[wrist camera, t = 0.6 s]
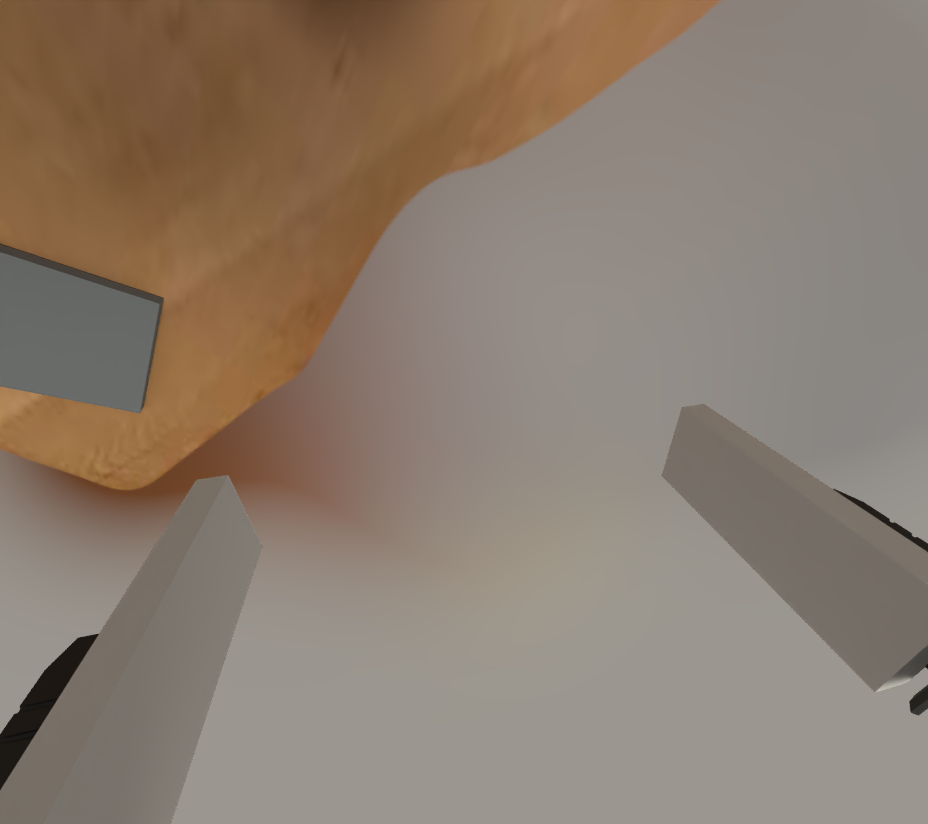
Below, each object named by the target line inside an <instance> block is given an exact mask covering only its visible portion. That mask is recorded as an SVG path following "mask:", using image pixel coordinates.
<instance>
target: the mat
mask: <svg viewBox="0 0 928 824" xmlns="http://www.w3.org/2000/svg"><path fill="white" fill-rule="evenodd" d="M162 304H163V298H161V297H158V296H155V295H152V294H149V293H146V292H143V291H140V290H137V289H134V288H131V287H128V286H125V285H122V284H119V283H116V282H113V281H110V280H107V279H104V278H101V277H98V276H95V275H92V274H89V273H86V272H83V271H80V270H77V269H74V268H71V267H68V266H65V265H62V264H59V263H56V262H53V261H50V260H47V259H44V258H41V257H38V256H35V255H32V254H29V253H26V252H23V251H20V250H17V249H14V248H11V247H8V246H5V245H2V244H0V386H1V387H7V388H12V389H17V390H22V391H27V392H32V393H38V394H43V395H48V396H53V397H58V398H63V399H69V400H74V401H79V402H84V403H89V404H95V405H100V406H105V407H110V408H115V409H120V410H126V411H131V412H136V413H140V412H141V410H142V408H143V406H144V401H145V395H146V390H147V385H148V379H149V374H150V368H151V363H152V358H153V352H154V347H155V341H156V336H157V331H158V325H159V320H160V314H161V309H162Z"/></svg>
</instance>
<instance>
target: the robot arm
mask: <svg viewBox="0 0 928 824" xmlns="http://www.w3.org/2000/svg"><path fill="white" fill-rule="evenodd" d="M662 477H663V478H664V479H665V480H666V481H667V482H668V483H669V484H670V485H671V486H672V487H673V488H674V489H675V490H676V491H677V492H678V493H679V494H680V495H681V496H682V497H683V498H684V499H685V500H686V501H687V502H688V503H689V504H690V505H691V506H692V507H693V508H694V509H695V510H696V511H697V512H698V513H699V514H700V515H701V516H702V517H703V518H704V519H705V520H706V521H707V522H708V523H709V524H710V525H711V526H712V527H713V528H714V529H715V530H716V531H717V532H718V533H719V534H720V536H721V537H722V538H723V539H724V540H725V541H726V542H727V543H728V544H729V545H730V546H731V547H733V549H734V550H735V551H736V552H737V553H738V554H739V555H740V556H741V557H742V558H743V559H744V560H745V561H746V562H747V563H748V564H749V565H750V566H751V567H752V568H753V569H754V570H755V571H756V572H757V573H758V574H759V575H760V576H761V577H762V578H763V579H764V580H765V581H766V582H767V583H768V584H769V585H770V586H771V587H772V588H773V589H774V590H775V591H776V592H777V593H778V594H779V595H780V596H781V598H782V599H783V600H785V602H786V603H787V604H788V605H790V606H791V608H793V610H794V611H795V612H796V613H797V614H798V615H799V616H800V617H801V618H802V619H803V620H804V621H805V622H806V623H807V624H808V625H809V626H810V627H811V628H812V629H813V630H814V631H815V632H816V633H817V634H818V635H819V636H820V637H821V638H822V639H823V640H824V641H825V642H826V643H827V644H828V645H829V646H830V647H831V648H832V649H833V650H834V651H835V652H836V653H837V654H838V655H839V656H840V657H841V658H842V659H843V661H844V662H846V664H848V666H849V667H850V668H851V669H852V670H853V671H854V672H855V673H856V674H857V675H858V676H859V677H860V678H861V679H862V680H863V681H864V682H865V683H866V684H867V685H868V686H869V687H870V688H871V689H872V690H873V691H874V692H877V691H881V690H884V689H888V688H891V687H894V686H898V685H901V684H905V683H907V682H908V681H909V680H911V679H912V678H913V677H914V676H915V675H916V674H918V673H919V672H920V671H921V670H922V669H923V668H925V667H926V668H927V669H928V543H926V542H924V541H923V540H921V539H920V538H918V537H916V538H915V537H913V536H912V533H910V532H909V531H907V530H906V529H904V528H903V527H901V526H900V525H898V524H897V523H891V522H890V521H889V518H887V517H886V516H884V515H883V514H881V513H879V512H878V511H876V510H875V509H873V508H872V507H870V506H868V505H867V504H866V503H864V502H862V501H860V500H858V499H856V498H853V497H851V496H849V495H846V494H844V493H842V492H840V491H838V490H835V489H832V488H830V487H829V486H827V485H826V484H824V483H823V482H821V481H819V480H818V479H816V478H815V477H813V476H812V475H810V474H809V473H807V472H806V471H804V470H803V469H801V468H800V467H798V466H797V465H795V464H794V463H792V462H791V461H789V460H788V459H786V458H785V457H783V456H782V455H780V454H779V453H777V452H776V451H774V450H773V449H771V448H770V447H768V446H767V445H765V444H763V443H762V442H761V441H759V440H758V439H756V438H754V437H753V436H752V435H750V434H748V433H747V432H746V431H744V430H742V429H741V428H739V427H738V426H736V425H735V424H733V423H732V422H730V421H729V420H727V419H726V418H724V417H723V416H721V415H720V414H718V413H717V412H715V411H714V410H712V409H711V408H709V407H708V406H706V405H704V404H701V405H694V406H688V407H682V409H681V412H680V416H679V419H678V422H677V426H676V429H675V432H674V436H673V439H672V443H671V446H670V449H669V453H668V456H667V460H666V463H665V466H664V470H663V473H662ZM261 549H262V544H261V542H260V540H259V538H258V536H257V534H256V532H255V530H254V528H253V526H252V523H251V522H250V519H249V517H248V516H247V513H246V511H245V509H244V507H243V505H242V503H241V501H240V499H239V497H238V495H237V493H236V490H235V488H234V486H233V484H232V482H231V480H230V478H229V476H228V475H227V476H219V477H213V478H206V479H199V480H196V481H195V483H194V485H193V486H192V488H191V489H190V491H189V492H188V494H187V496H186V497H185V499H184V500H183V502H182V504H181V505H180V507H179V508H178V510H177V511H176V513H175V515H174V516H173V518H172V520H171V521H170V523H169V524H168V526H167V527H166V529H165V530H164V532H163V534H162V535H161V537H160V538H159V540H158V541H157V543H156V545H155V546H154V548H153V549H152V551H151V553H150V554H149V556H148V557H147V559H146V560H145V562H144V564H143V565H142V567H141V569H140V570H139V572H138V573H137V575H136V576H135V578H134V579H133V581H132V583H131V584H130V586H129V587H128V589H127V591H126V592H125V594H124V595H123V597H122V598H121V600H120V602H119V604H118V605H117V606H116V608H115V610H114V611H113V613H112V614H111V616H110V618H109V619H108V621H107V622H106V624H105V625H104V627H103V629H102V630H101V632H100V633H99V634H95V635H90V636H85V637H80V638H77V639H76V640H75V641H74V642H73V643H72V644H71V645H70V646H69V647H68V648H67V649H66V650H65V651H64V652H63V653H62V654H61V655H60V656H59V657H58V658H57V659H56V660H55V661H54V662H53V663H52V664H51V665H50V666H49V667H48V668H47V669H46V670H45V671H44V672H43V674H42V675H41V676H40V678H39V679H38V681H37V683H36V684H35V685H34V687H33V688H32V689H31V691H30V692H29V694H28V695H27V697H26V698H25V699H24V701H23V702H22V704H21V705H20V711H19V712H18V713H17V714H14V715H13V717H12V718H11V720H10V721H9V722H8V724H7V725H6V727H5V728H4V730H3V731H2V733H1V734H0V824H171V822H172V819H173V816H174V813H175V810H176V807H177V804H178V801H179V798H180V794H181V792H182V789H183V786H184V782H185V779H186V777H187V773H188V771H189V767H190V764H191V761H192V758H193V755H194V752H195V749H196V746H197V743H198V740H199V737H200V734H201V731H202V728H203V725H204V722H205V719H206V716H207V712H208V710H209V707H210V703H211V700H212V697H213V695H214V692H215V689H216V685H217V682H218V679H219V676H220V673H221V670H222V667H223V664H224V661H225V658H226V655H227V652H228V649H229V646H230V643H231V640H232V637H233V634H234V631H235V628H236V625H237V622H238V619H239V616H240V613H241V610H242V606H243V603H244V600H245V597H246V594H247V591H248V588H249V585H250V582H251V579H252V576H253V573H254V570H255V567H256V564H257V561H258V558H259V555H260V552H261ZM926 709H928V685H927V686H926V687H924V688H923V689H922V690H921V691H919V692H918V693H917V694H916V695H915V696H914V697H913V698H912V699H911V700H910V711H911V713H913V714H916V715H920V714H921V713H922V712H924V711H925V710H926Z"/></svg>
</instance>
